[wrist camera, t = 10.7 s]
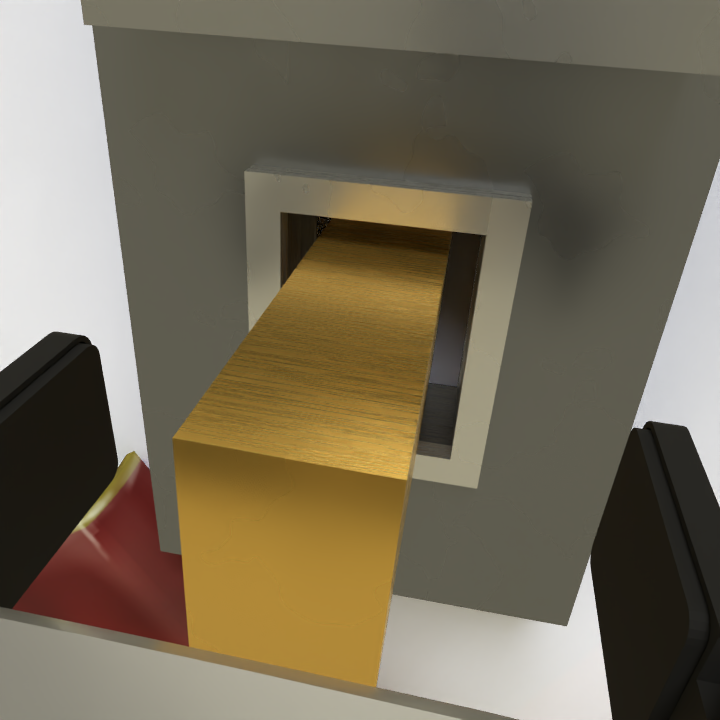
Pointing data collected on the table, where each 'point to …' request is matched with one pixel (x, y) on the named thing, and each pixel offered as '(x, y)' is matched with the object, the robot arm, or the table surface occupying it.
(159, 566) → the hardcover book
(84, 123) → the table surface
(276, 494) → the brass peg in socket
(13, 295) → the table surface
